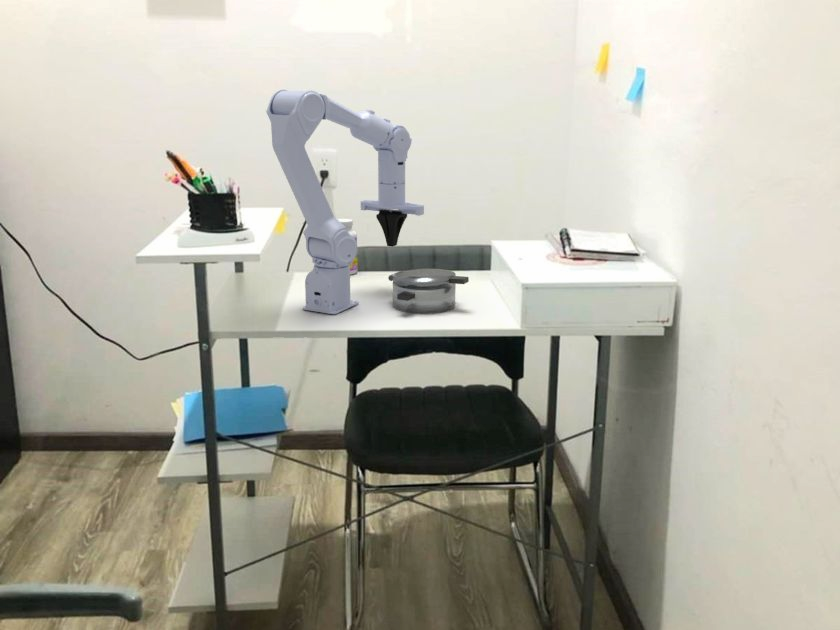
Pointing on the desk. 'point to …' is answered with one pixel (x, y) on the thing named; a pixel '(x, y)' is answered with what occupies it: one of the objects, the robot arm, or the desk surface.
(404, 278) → the lid
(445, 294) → the pot
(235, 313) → the desk surface
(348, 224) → the supplement bottle
